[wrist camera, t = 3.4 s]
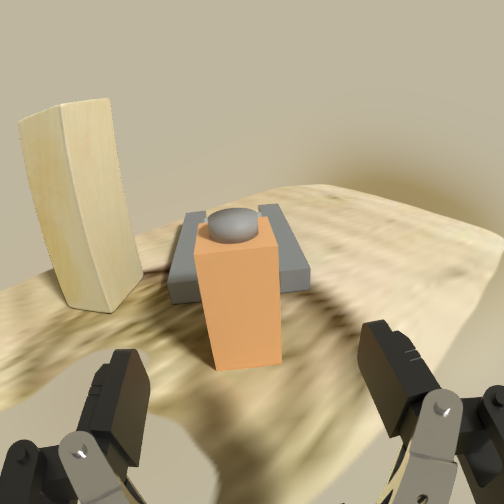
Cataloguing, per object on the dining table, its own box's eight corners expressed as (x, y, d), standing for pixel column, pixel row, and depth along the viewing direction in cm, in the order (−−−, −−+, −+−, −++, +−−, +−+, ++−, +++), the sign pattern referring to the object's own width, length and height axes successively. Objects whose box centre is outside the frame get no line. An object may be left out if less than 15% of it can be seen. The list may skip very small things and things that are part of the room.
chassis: (309, 289, 32) (310, 268, 31) (171, 304, 32) (166, 283, 30) (278, 218, 50) (277, 203, 49) (188, 228, 49) (186, 213, 48)
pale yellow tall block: (98, 272, 39) (62, 111, 29) (145, 275, 37) (111, 96, 28) (63, 307, 32) (12, 123, 22) (112, 315, 30) (60, 103, 21)
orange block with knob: (281, 363, 24) (277, 227, 19) (216, 370, 23) (190, 236, 18) (272, 323, 28) (266, 200, 23) (216, 329, 28) (196, 208, 23)
